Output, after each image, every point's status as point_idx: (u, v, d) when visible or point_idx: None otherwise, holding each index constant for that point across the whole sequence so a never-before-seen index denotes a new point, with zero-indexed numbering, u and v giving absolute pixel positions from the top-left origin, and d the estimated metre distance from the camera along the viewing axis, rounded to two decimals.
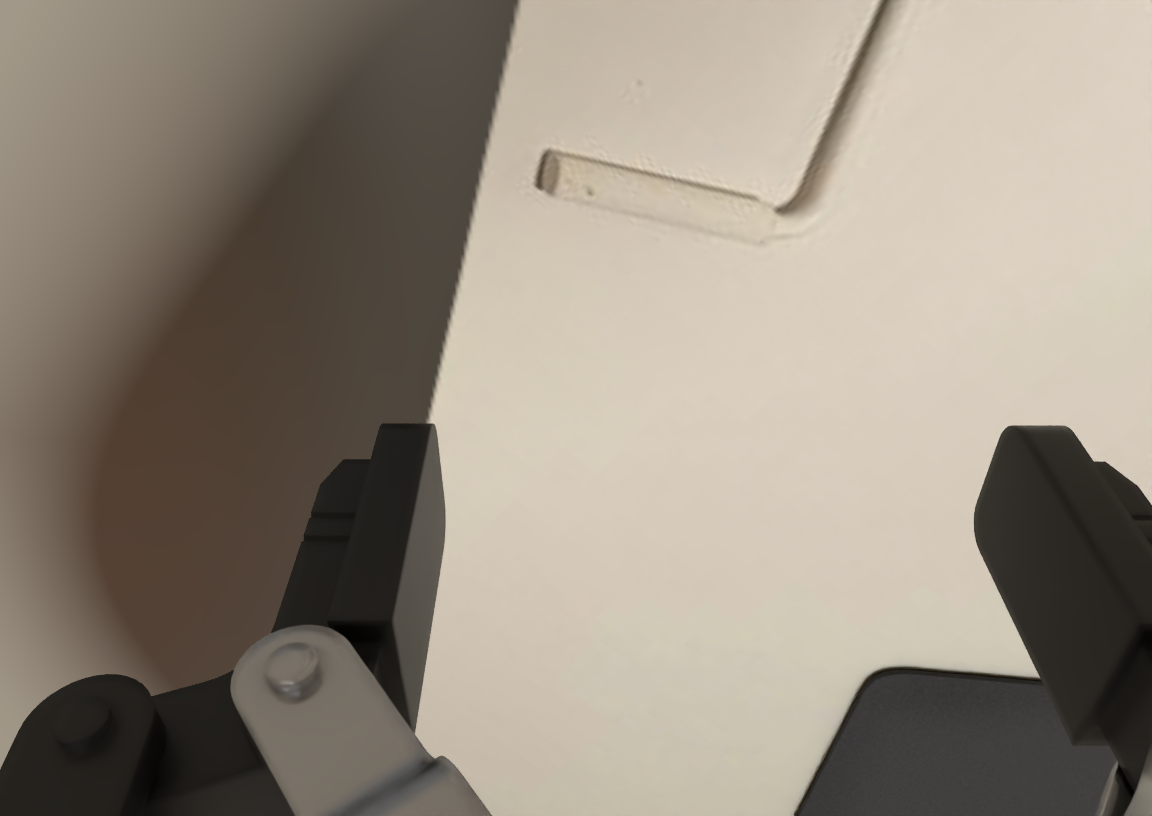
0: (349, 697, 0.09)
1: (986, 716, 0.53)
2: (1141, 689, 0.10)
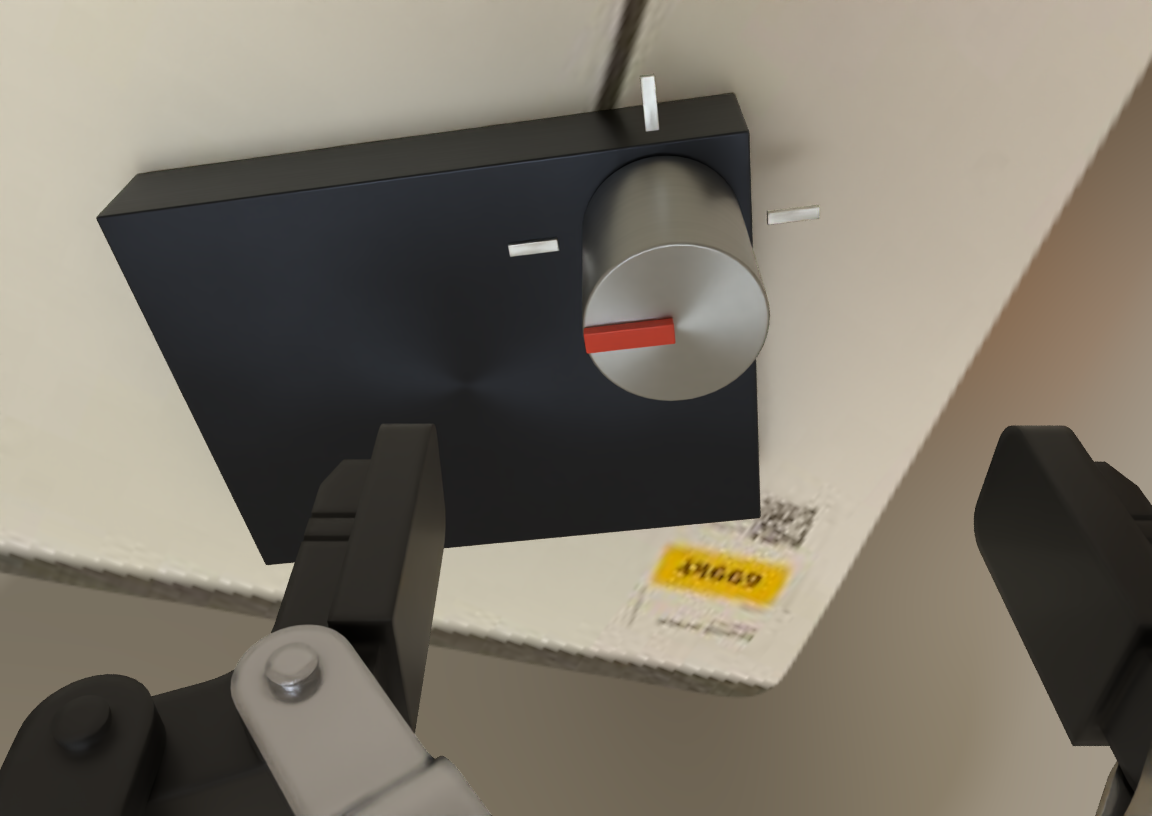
0: (349, 697, 0.09)
1: None
2: (1141, 689, 0.10)
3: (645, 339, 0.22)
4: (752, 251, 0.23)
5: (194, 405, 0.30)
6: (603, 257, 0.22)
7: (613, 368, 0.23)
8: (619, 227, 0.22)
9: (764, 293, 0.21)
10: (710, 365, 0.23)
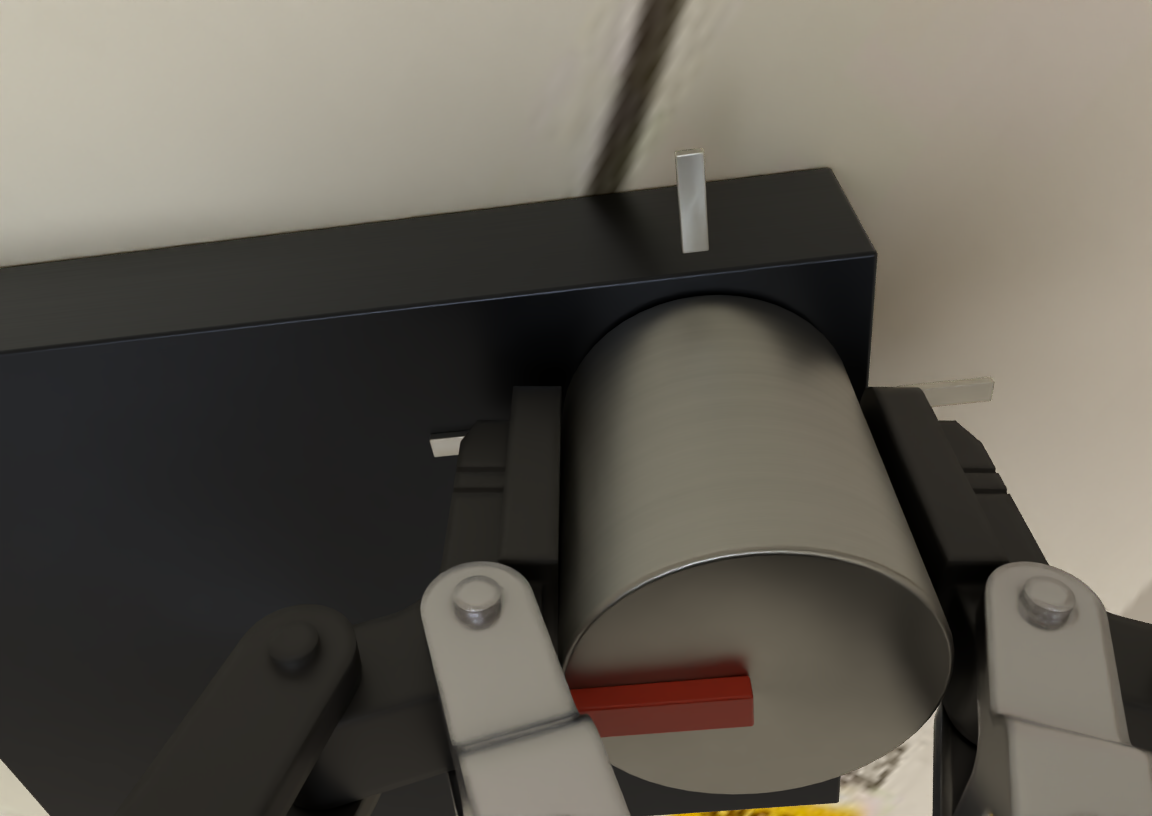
0: (519, 638, 0.10)
1: None
2: (954, 624, 0.11)
3: (689, 719, 0.10)
4: (902, 511, 0.11)
5: None
6: (604, 548, 0.10)
7: (621, 749, 0.11)
8: (635, 474, 0.11)
9: (949, 635, 0.10)
10: (818, 746, 0.11)
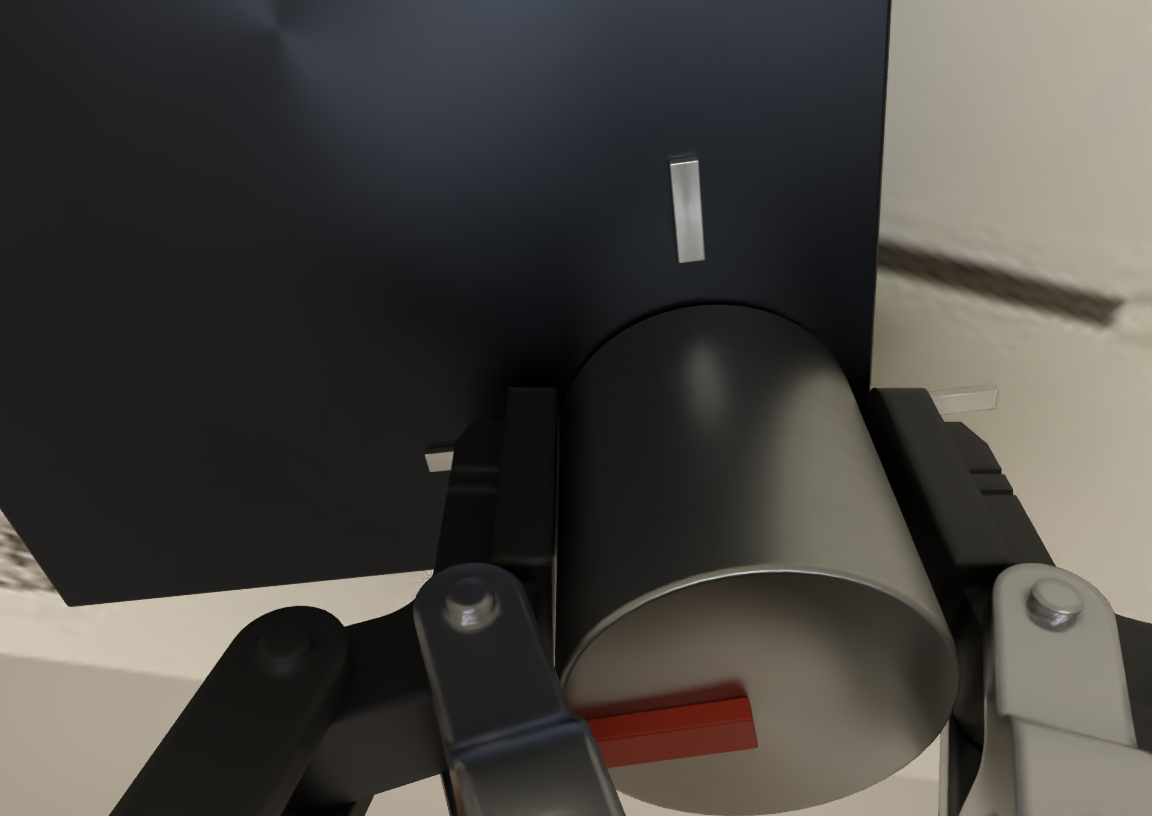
0: (513, 639, 0.10)
1: None
2: (961, 625, 0.11)
3: (691, 746, 0.10)
4: (900, 514, 0.11)
5: None
6: (589, 578, 0.10)
7: (630, 778, 0.11)
8: (617, 498, 0.10)
9: (951, 643, 0.10)
10: (832, 762, 0.11)
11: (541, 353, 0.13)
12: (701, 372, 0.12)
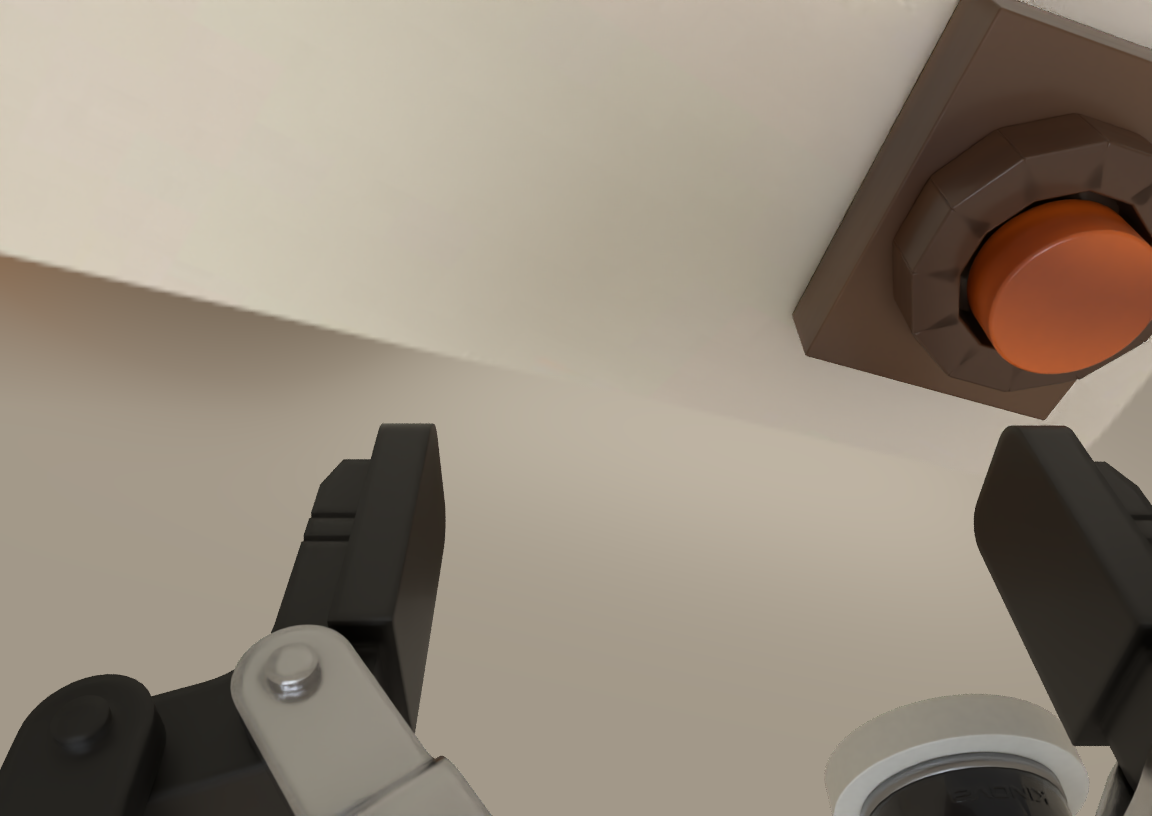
0: (349, 697, 0.09)
1: None
2: (1141, 689, 0.10)
3: None
4: None
5: None
6: None
7: None
8: None
9: None
10: None
11: None
12: None
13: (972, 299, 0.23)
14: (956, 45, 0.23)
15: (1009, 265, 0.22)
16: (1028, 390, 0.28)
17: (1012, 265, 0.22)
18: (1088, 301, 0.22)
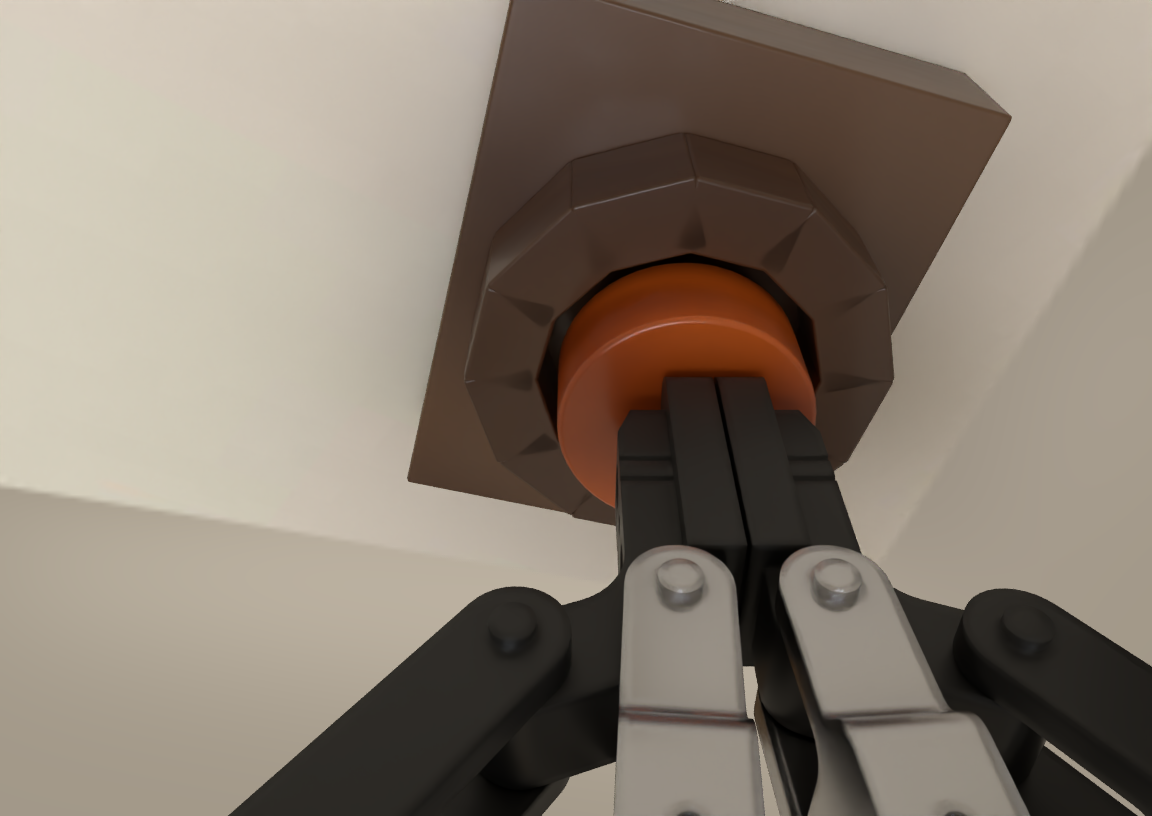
0: (710, 629, 0.10)
1: None
2: (763, 607, 0.11)
3: None
4: None
5: None
6: None
7: None
8: None
9: None
10: None
11: None
12: None
13: None
14: None
15: (570, 370, 0.14)
16: None
17: (571, 371, 0.14)
18: None
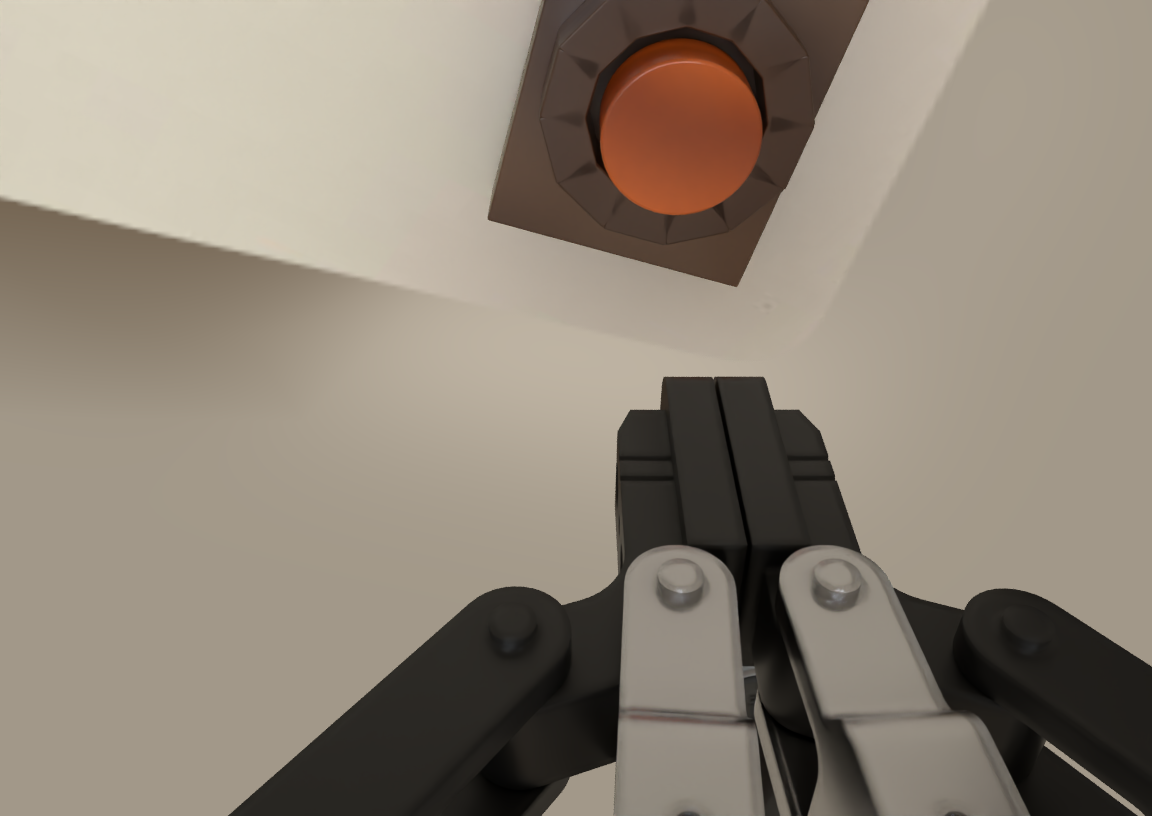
0: (710, 629, 0.10)
1: None
2: (763, 606, 0.11)
3: None
4: None
5: None
6: None
7: None
8: None
9: None
10: None
11: None
12: None
13: None
14: None
15: (610, 99, 0.23)
16: (713, 254, 0.28)
17: (611, 99, 0.23)
18: (691, 135, 0.23)
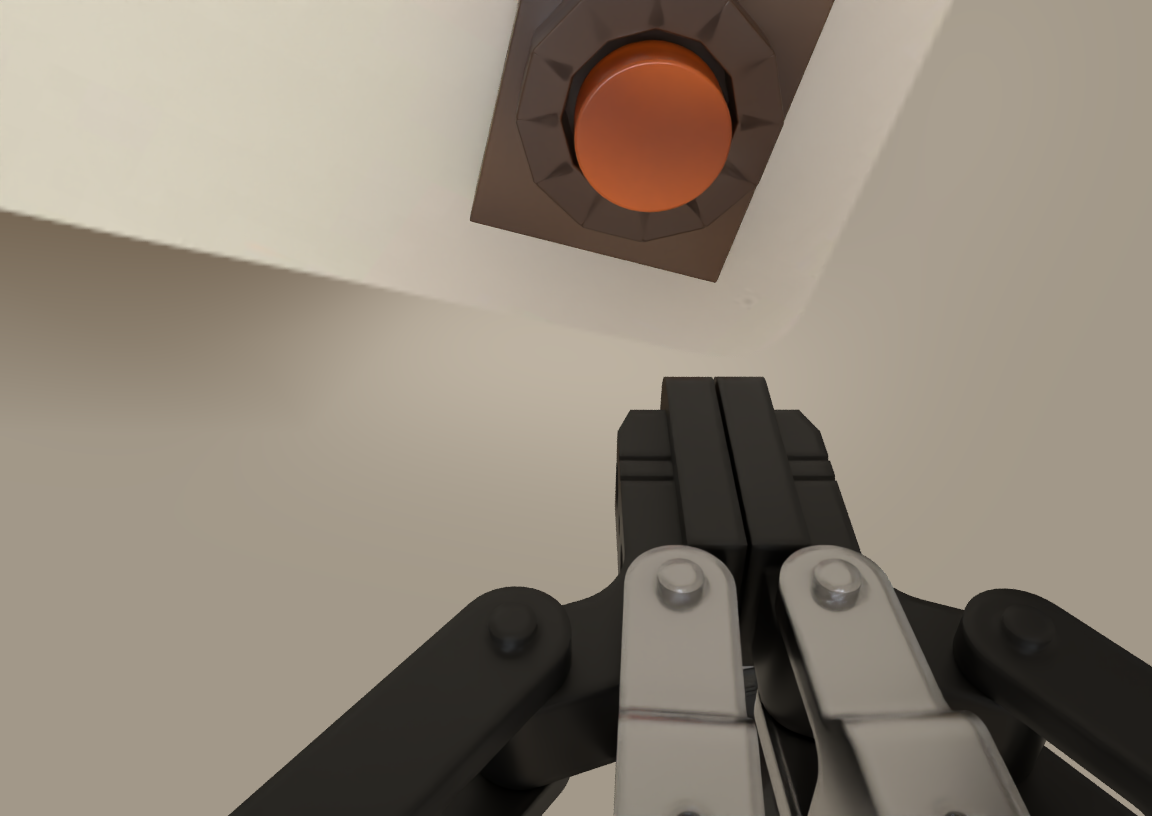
0: (710, 629, 0.10)
1: None
2: (763, 606, 0.11)
3: None
4: None
5: None
6: None
7: None
8: None
9: None
10: None
11: None
12: None
13: None
14: None
15: (583, 100, 0.23)
16: (691, 251, 0.29)
17: (583, 100, 0.23)
18: (662, 133, 0.23)
